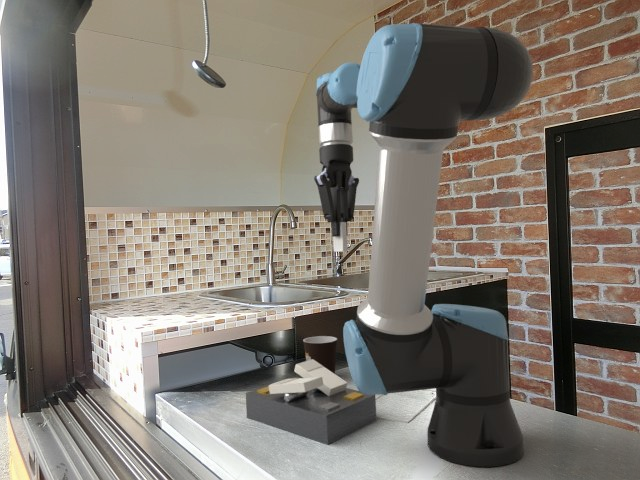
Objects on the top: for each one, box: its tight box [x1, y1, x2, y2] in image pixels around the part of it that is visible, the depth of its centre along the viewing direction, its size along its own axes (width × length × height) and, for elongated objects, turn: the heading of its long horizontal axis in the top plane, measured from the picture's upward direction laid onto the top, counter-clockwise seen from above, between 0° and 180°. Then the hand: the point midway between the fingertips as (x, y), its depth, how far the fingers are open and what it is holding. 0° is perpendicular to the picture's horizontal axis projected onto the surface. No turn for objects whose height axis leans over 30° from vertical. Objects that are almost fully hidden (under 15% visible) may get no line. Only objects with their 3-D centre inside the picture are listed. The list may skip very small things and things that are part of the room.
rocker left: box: [269, 377, 324, 394], centre depth 95 cm, size 10×5×2 cm, turn 47°
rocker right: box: [294, 359, 348, 396], centre depth 100 cm, size 10×5×2 cm, turn 47°
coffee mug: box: [302, 335, 338, 375], centre depth 127 cm, size 12×9×10 cm
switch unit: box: [245, 376, 377, 446], centre depth 98 cm, size 22×14×6 cm, turn 47°
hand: (340, 251), depth 111 cm, fingers closed
